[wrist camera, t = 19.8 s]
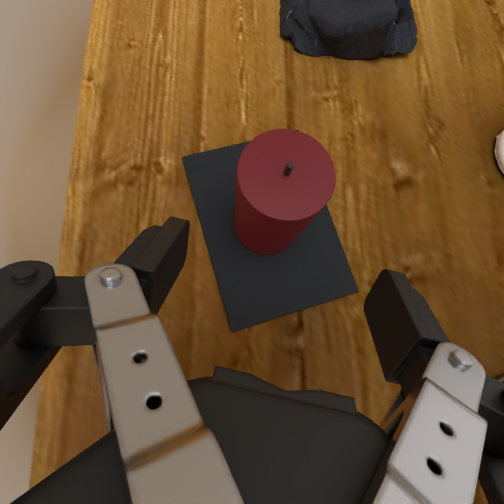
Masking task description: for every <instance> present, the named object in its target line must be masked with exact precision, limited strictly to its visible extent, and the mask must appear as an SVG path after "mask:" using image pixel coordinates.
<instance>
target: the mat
mask: <svg viewBox="0 0 504 504" xmlns="http://www.w3.org/2000/svg"><path fill="white" fill-rule="evenodd" d="M296 131H299V130H296ZM249 142H250V141H249ZM249 142H244V143H240V144H236V145H231V146H227V147H223V148H219V149H214V150H210V151H206V152H201V153H197V154H193V155H188V156H184V157H182V159H183V162H184V166H185V169H186V173H187V176H188V180H189V183H190V187H191V190H192V194H193V197H194V201H195V204H196V208H197V211H198V215H199V219H200V222H201V226H202V229H203V233H204V236H205V240H206V243H207V247H208V250H209V254H210V257H211V261H212V264H213V268H214V271H215V275H216V278H217V282H218V285H219V289H220V293H221V296H222V300H223V303H224V307H225V310H226V314H227V317H228V321H229V324H230V328H231V331H232V332H234V331H237V330H240V329H243V328H246V327H249V326H252V325H256V324H259V323H262V322H265V321H268V320H271V319H274V318H277V317H281V316H284V315H287V314H290V313H293V312H296V311H299V310H302V309H306V308H309V307H312V306H315V305H318V304H321V303H324V302H327V301H331V300H334V299H337V298H340V297H343V296H346V295H349V294H352V293H356V292H358V288H357V286H356V283H355V280H354V277H353V275H352V272H351V269H350V267H349V264H348V261H347V259H346V256H345V253H344V251H343V248H342V245H341V243H340V240H339V237H338V234H337V232H336V229H335V226H334V224H333V221H332V218H331V216H330V213H329V210H328V208H327V205H325V206H324V208H323V209H322V210H321V211H320V212H319V213H318V214H317V216H316V217H315V218H314V219H313V220H312V221H311V222H310V224H309V225H308V226H307V227H306V228H305V229H304V230H303V232H302V233H301V234H300V235H299V236H298V237H297V238H296V240H295V241H294V242H293V243H292V244H291V245H290V246H289V247H288V248H287V249H286V250H284V251H282V252H280V253H278V254H274V255H261V254H257V253H254V252H252V251H250V250H249V249H247V248H246V247H245V246H244V245H243V244H242V243H241V242H240V241H239V239H238V237H237V235H236V232H235V228H234V215H235V196H236V177H237V165H238V160H239V157H240V155H241V153H242V151H243V150H244V148H245V147H246V145H247V144H248V143H249Z"/></svg>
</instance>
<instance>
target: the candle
mask: <svg viewBox="0 0 504 504" xmlns="http://www.w3.org/2000/svg"><path fill="white" fill-rule="evenodd" d="M334 187H335V169H334V165H333V162H332V160H331V157H330V156H329V154H328V152H327V151H326V150H325V148H324V147H323V146H322V145H321V144H320V143H319V142H318V141H316V140H315V139H314V138H312V137H311V136H309V135H307V134H305V133H302V132H299V131H296V130H291V129H276V130H271V131H267V132H265V133H262V134H260V135H258V136H257V137H255V138H254V139H253V140H251V141H250V142H249V143H248V144H247V145H246V147H245V148H244V150H243V151H242V153H241V155H240V157H239V160H238V165H237V177H236V196H235V215H234V228H235V232H236V235H237V237H238V239H239V241H240V242H241V243H242V244H243V245H244V246H245V247H246V248H247V249H249V250H250V251H252V252H254V253H257V254H261V255H274V254H278V253H280V252H282V251H284V250H286V249H287V248H288V247H289V246H290V245H291V244H292V243H293V242H294V241H295V240H296V238H297V237H298V236H299V235H300V234H301V233H302V232H303V230H304V229H305V228H306V227H307V226H308V225H309V224H310V222H311V221H312V220H313V219H314V218H315V217H316V216H317V214H318V213H319V212H320V211H321V210H322V209H323V208H324V206H325V205H326V204H327V203H328V201H329V200H330V198H331V196H332V194H333V191H334Z"/></svg>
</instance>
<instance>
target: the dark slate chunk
mask: <svg viewBox="0 0 504 504" xmlns="http://www.w3.org/2000/svg"><path fill="white" fill-rule="evenodd" d="M280 15H281V18H280V21H281V22H280V32H281V33H282V34H283V35H284V36H285V37H287V38H288V39H291V38H292V41H293V43H294V46H295V50H296V51H297V52H299V53H306V54H307V55H315V56H317V57H319V56H320V55H332V56H336V57H338V58H345V59H354V60H370V59H374V58H376V57H377V56H380V55H382V56H388V55H389V54H393V55H395V54H396V52H400V53H405V52H408V53H411V52H412V51H413V49H414V47H415V45H416V42H417V38H416V34H417V28H416V24H415V18H414V13H413V9H412V7H411V2H410V0H281V9H280ZM395 21H396V22H397V23H396V25H395V24H393V23H394V22H395Z"/></svg>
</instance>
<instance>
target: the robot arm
mask: <svg viewBox="0 0 504 504" xmlns="http://www.w3.org/2000/svg"><path fill="white" fill-rule="evenodd" d="M189 227H190V222H189V221H188V220H184V219H180V218H175V217H169V219H168V220H167V221H166V222H165V223H164V225H163V226H162V227H161V226H157V225H154V226H151V227H149V228H147V229H145V230H143V231H142V233H141V234H140V235H139V236H138V237H137V238H136V239H135V240H134V241H133V242H132V244H131V245H130V246H129V247H128V248H127V249H126V250H125V251H124V252H123V253H122V254H121V256H120V257H119V258H118V259H117V260H116V261H115V262H114V263H113V264H104V265H100V266H97V267H95V268H93V269H91V270H90V271H89V272H88V273H87V274H86V276H83V277H69V276H55V273H54V269H53V267H52V266H51V265H49V264H48V263H45V262H41V261H21V262H16V263H13V264H10V265H7V266H5V267H3V268H1V269H0V430H1V429H2V428H3V426H4V425H5V424H6V422H7V421H8V420H9V418H10V417H11V416H12V414H13V413H14V411H15V410H16V409H17V407H18V406H19V405H20V403H21V402H22V401H23V399H24V398H25V396H26V395H27V394H28V392H29V391H30V390H31V388H32V387H33V386H34V384H35V383H36V382H37V380H38V379H39V377H40V376H41V375H42V373H43V372H44V371H45V369H46V368H47V367H48V365H49V364H50V362H51V361H52V360H53V358H54V357H55V356H56V354H57V353H58V352H59V350H60V349H61V347H62V346H76V345H93V351H94V356H95V361H96V367H97V372H98V378H99V383H100V388H101V394H102V400H103V407H104V413H105V419H106V425H107V430H108V434H106V435H105V436H104V437H102V438H101V439H99V440H98V441H97V442H95V443H94V444H92V445H91V446H90V447H88V448H87V449H85V450H84V451H83V452H81V453H80V454H78V455H77V456H76V457H74V458H73V459H71V460H70V461H69V462H67V463H66V464H64V465H63V466H62V467H60V468H59V469H58V470H56V471H55V472H53V473H52V474H51V475H49V476H48V477H46V478H45V479H44V480H42V481H41V482H39V483H38V484H37V485H35V486H34V487H32V488H31V489H30V490H28V491H27V492H25V493H24V494H23V495H21V496H20V497H19V498H17V499H16V500H14V501H13V502H12V503H10V504H473V501H474V495H475V490H476V484H477V479H479V481H480V484H481V486H482V489H483V491H484V493H485V496H486V498H487V501H488V503H489V504H504V375H501V376H499V377H497V378H495V379H494V378H492V377H490V376H488V375H486V374H485V370H484V368H483V366H482V365H481V363H480V362H479V361H478V360H477V359H476V358H475V357H474V356H473V355H472V354H471V353H469V352H468V351H466V350H465V349H463V348H462V347H460V346H458V345H455V344H452V343H450V341H449V339H448V338H447V336H446V334H445V332H444V331H443V329H442V327H441V326H440V324H439V322H438V321H437V319H436V318H434V317H435V316H434V314H433V312H432V310H430V307H429V305H428V304H427V302H426V300H425V299H424V297H423V296H421V295H420V294H419V293H418V292H417V291H416V290H415V289H414V288H413V287H412V286H411V284H410V282H409V280H408V279H407V277H406V275H405V274H403V273H400V272H395V271H391V270H387V269H384V270H382V271H381V273H380V274H379V276H378V278H377V279H376V281H375V283H374V285H373V286H372V288H371V290H370V292H369V293H368V295H367V297H366V299H365V303H364V312H365V315H366V319H367V322H368V325H369V328H370V332H371V335H372V338H373V341H374V345H375V348H376V351H377V354H378V357H379V361H380V364H381V367H382V370H383V374H384V377H385V380H386V381H388V382H392V383H396V384H400V385H401V389H400V391H399V392H398V393H397V394H396V396H395V398H394V400H393V401H392V403H391V405H390V407H389V409H388V410H387V412H386V414H385V416H384V418H383V419H382V421H381V423H380V425H379V426H378V425H377V424H376V423H374V422H373V421H372V420H370V419H369V418H367V417H366V416H364V415H363V414H361V413H359V412H357V410H356V405H355V400H354V398H352V397H348V396H343V395H339V394H335V393H331V392H326V391H322V390H303V391H286V390H282V389H280V388H278V387H276V386H274V385H272V384H270V383H268V382H266V381H264V380H262V379H260V378H258V377H256V376H254V375H252V374H249V373H245V372H241V371H236V370H232V369H228V368H223V367H219V366H215V370H214V374H213V377H201V378H196V379H192V380H188V381H186V379H185V376H184V374H183V372H182V369H181V367H180V364H179V362H178V360H177V357H176V355H175V352H174V350H173V348H172V345H171V343H170V340H169V338H168V336H167V333H166V331H165V329H164V326H163V324H162V321H161V319H160V317H159V315H158V312H159V310H160V308H161V306H162V304H163V303H164V301H165V299H166V297H167V295H168V293H169V292H170V290H171V288H172V286H173V284H174V282H175V280H176V279H177V277H178V275H179V273H180V271H181V269H182V268H183V265H184V262H185V259H186V254H187V245H188V236H189Z"/></svg>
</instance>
